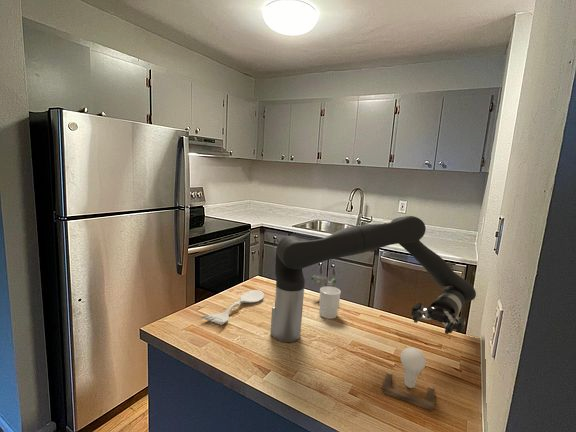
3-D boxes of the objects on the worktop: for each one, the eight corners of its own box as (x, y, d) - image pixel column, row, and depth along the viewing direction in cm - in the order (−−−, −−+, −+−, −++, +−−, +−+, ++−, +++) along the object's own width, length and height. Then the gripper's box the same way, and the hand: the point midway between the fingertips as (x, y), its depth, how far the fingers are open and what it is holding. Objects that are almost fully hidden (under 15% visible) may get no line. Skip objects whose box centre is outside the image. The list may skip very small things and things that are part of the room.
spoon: (199, 324, 107) (200, 315, 106) (250, 293, 136) (250, 285, 135) (220, 332, 103) (221, 322, 103) (268, 298, 132) (268, 290, 131)
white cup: (341, 314, 121) (343, 290, 120) (333, 321, 115) (335, 296, 113) (323, 308, 125) (325, 284, 124) (314, 315, 119) (316, 290, 117)
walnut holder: (382, 392, 80) (382, 388, 79) (386, 376, 86) (386, 372, 86) (433, 411, 74) (433, 406, 74) (433, 393, 81) (434, 389, 81)
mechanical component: (333, 302, 131) (335, 280, 130) (309, 298, 133) (311, 276, 132) (333, 299, 134) (336, 277, 133) (310, 296, 136) (312, 274, 135)
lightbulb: (420, 383, 84) (426, 345, 83) (422, 398, 79) (428, 358, 77) (396, 376, 86) (401, 340, 84) (396, 391, 80) (402, 352, 79)
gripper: (424, 289, 105) (407, 304, 93) (472, 303, 96) (459, 321, 83) (422, 310, 106) (404, 327, 94) (469, 326, 97) (456, 347, 85)
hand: (430, 324), depth 89 cm, fingers open, 8 cm apart
